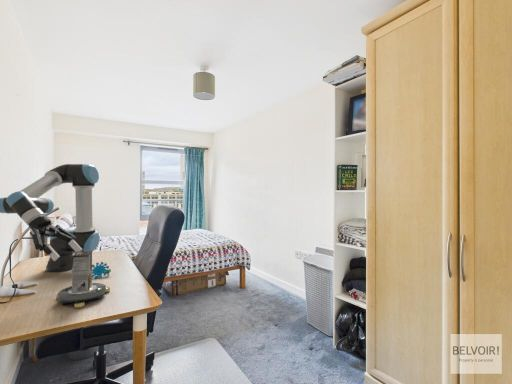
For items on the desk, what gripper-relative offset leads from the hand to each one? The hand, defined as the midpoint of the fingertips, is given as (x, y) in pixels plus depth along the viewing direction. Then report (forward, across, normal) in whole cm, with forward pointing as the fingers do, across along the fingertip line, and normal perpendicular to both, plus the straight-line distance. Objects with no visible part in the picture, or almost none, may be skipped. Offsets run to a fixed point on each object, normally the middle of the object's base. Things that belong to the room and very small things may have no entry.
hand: (69, 254), depth 119 cm
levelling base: (+17, 0, -10) cm, 20 cm away
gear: (+10, -31, -18) cm, 38 cm away
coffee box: (+15, 0, -7) cm, 17 cm away
